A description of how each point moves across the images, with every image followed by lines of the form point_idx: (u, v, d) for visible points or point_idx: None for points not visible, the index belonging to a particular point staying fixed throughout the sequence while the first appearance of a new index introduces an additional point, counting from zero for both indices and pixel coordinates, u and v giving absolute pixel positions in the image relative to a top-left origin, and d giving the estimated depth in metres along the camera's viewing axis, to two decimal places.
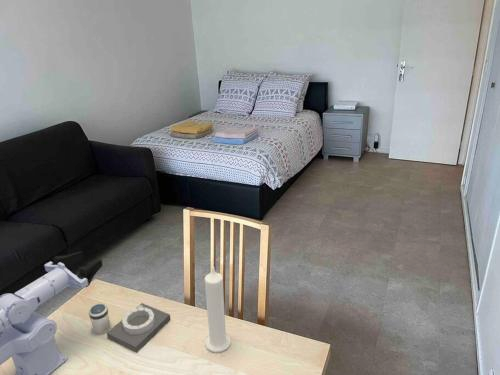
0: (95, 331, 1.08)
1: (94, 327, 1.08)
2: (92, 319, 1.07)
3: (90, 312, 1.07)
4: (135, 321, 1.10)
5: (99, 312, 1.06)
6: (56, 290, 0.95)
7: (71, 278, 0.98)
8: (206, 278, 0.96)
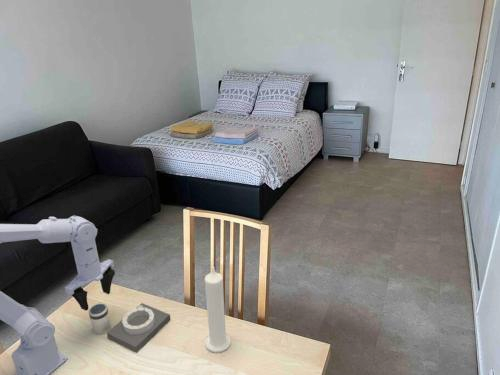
0: (95, 331, 1.08)
1: (94, 327, 1.08)
2: (92, 319, 1.07)
3: (90, 312, 1.07)
4: (135, 321, 1.10)
5: (99, 312, 1.06)
6: (77, 265, 1.00)
7: (81, 281, 1.01)
8: (206, 278, 0.96)
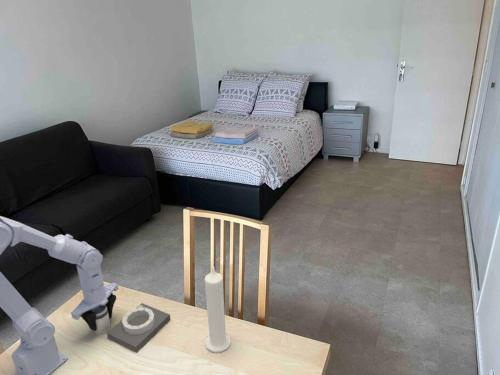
0: (95, 331, 1.08)
1: None
2: None
3: None
4: (135, 321, 1.10)
5: (99, 312, 1.06)
6: (83, 291, 1.03)
7: (87, 305, 1.04)
8: (206, 278, 0.96)
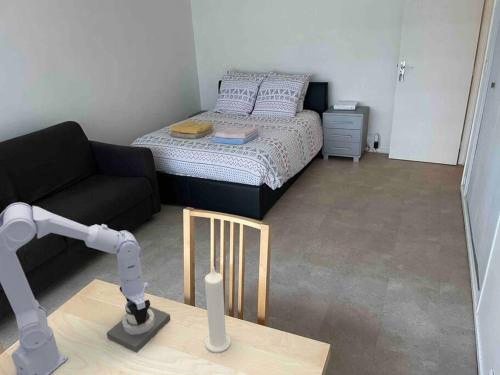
0: None
1: None
2: None
3: None
4: None
5: None
6: (132, 282, 1.01)
7: (138, 294, 1.02)
8: (206, 278, 0.96)
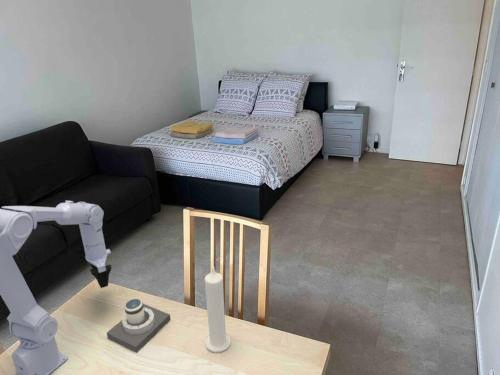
0: None
1: (139, 321, 1.06)
2: (137, 313, 1.05)
3: (132, 308, 1.05)
4: None
5: (140, 302, 1.07)
6: (94, 247, 1.09)
7: (100, 259, 1.11)
8: (206, 278, 0.96)
